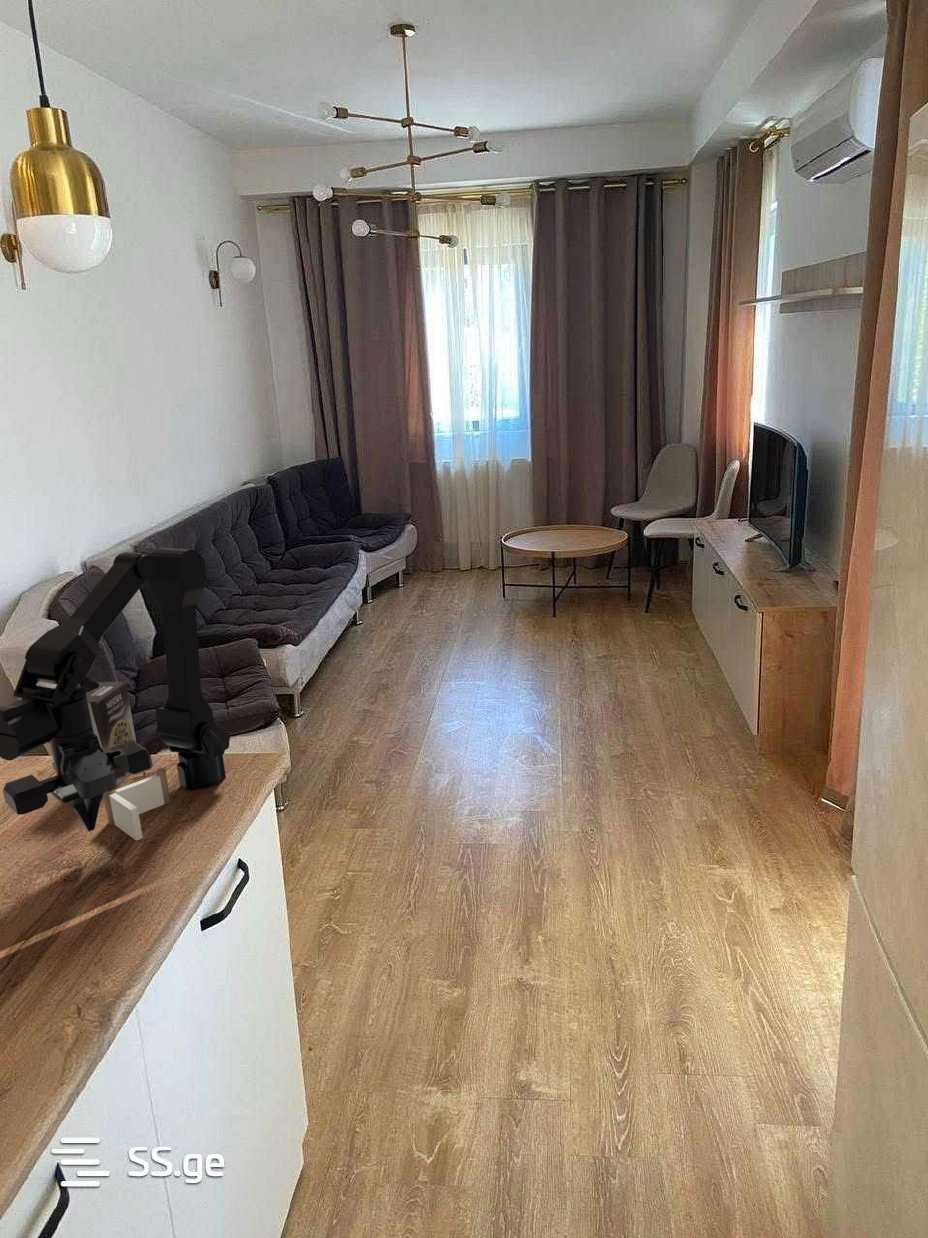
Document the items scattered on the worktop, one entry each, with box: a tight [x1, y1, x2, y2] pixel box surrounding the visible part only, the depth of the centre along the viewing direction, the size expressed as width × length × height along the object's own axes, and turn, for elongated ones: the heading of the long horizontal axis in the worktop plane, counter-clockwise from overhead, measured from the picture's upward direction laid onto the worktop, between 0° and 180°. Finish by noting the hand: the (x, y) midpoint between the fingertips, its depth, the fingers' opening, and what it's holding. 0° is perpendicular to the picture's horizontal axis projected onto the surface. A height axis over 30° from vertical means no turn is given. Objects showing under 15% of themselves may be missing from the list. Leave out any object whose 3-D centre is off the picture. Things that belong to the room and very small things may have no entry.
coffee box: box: [87, 681, 137, 787], centre depth 152 cm, size 9×6×16 cm
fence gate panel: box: [109, 793, 144, 841], centre depth 135 cm, size 7×1×5 cm, turn 45°
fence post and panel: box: [102, 767, 172, 826], centre depth 141 cm, size 10×2×6 cm, turn 133°
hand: (90, 829), depth 130 cm, fingers closed
